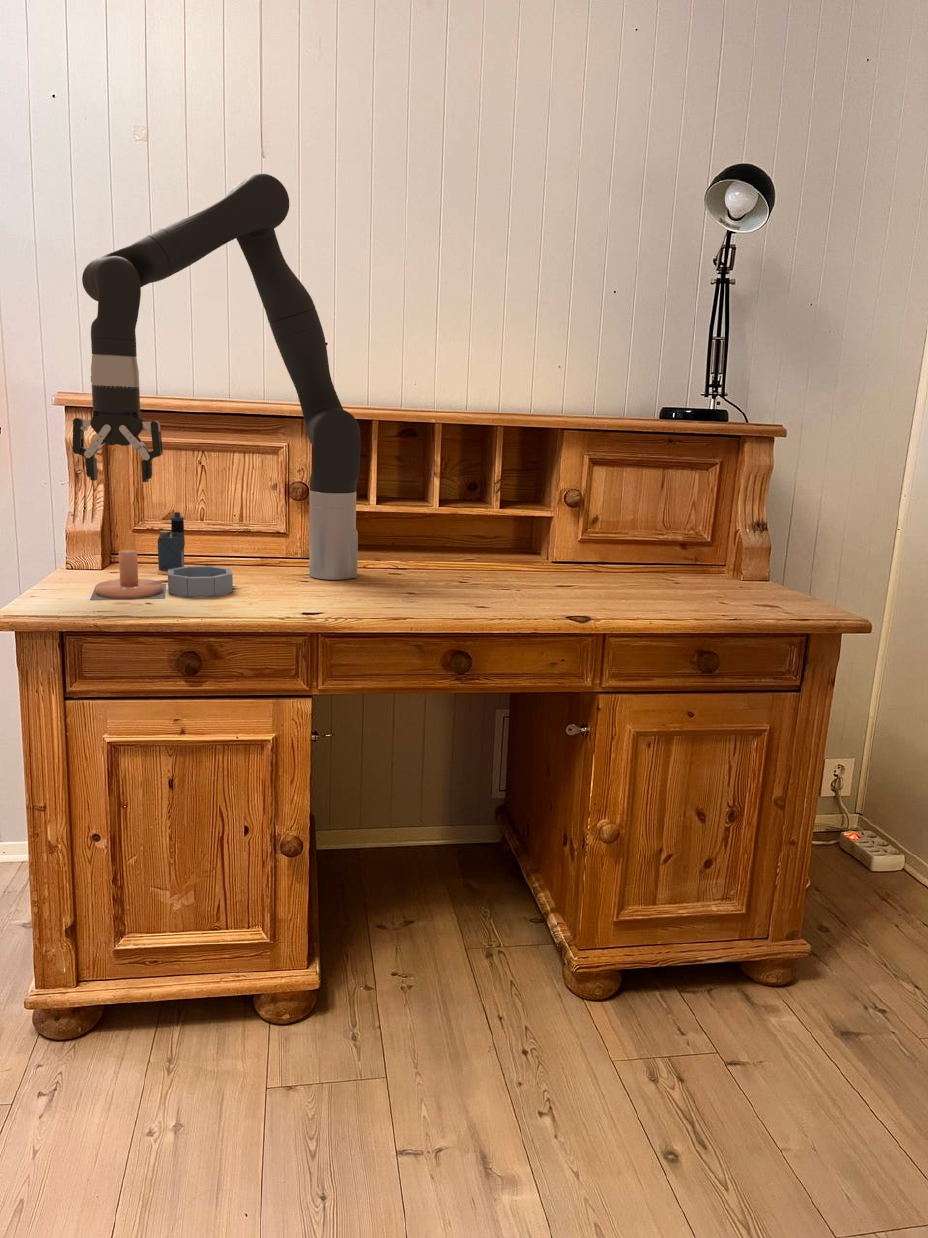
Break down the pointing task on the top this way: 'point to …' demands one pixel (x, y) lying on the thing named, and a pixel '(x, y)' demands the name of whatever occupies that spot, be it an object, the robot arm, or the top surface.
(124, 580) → the lid
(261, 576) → the top surface
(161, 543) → the vaping device
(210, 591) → the bowl
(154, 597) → the mat
